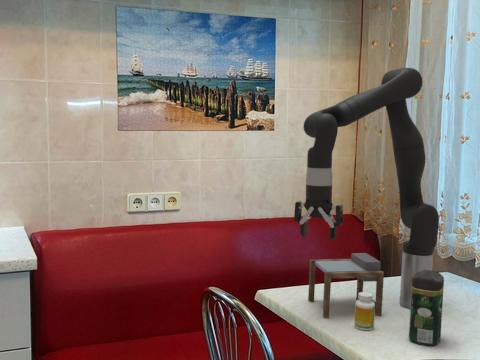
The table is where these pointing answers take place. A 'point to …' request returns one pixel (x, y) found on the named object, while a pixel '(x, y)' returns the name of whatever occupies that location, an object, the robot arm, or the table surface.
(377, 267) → the grey angled panel
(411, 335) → the coffee jar
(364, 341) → the table surface
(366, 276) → the frame
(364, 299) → the supplement bottle
